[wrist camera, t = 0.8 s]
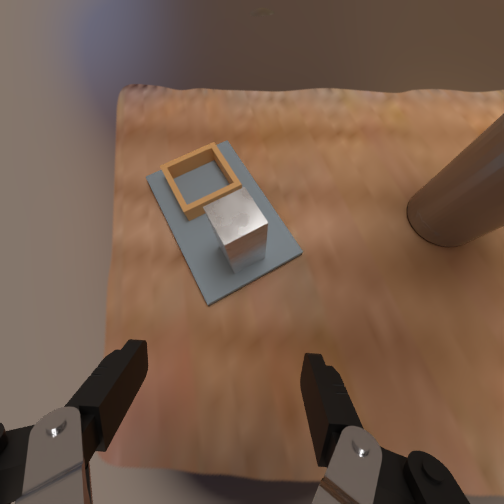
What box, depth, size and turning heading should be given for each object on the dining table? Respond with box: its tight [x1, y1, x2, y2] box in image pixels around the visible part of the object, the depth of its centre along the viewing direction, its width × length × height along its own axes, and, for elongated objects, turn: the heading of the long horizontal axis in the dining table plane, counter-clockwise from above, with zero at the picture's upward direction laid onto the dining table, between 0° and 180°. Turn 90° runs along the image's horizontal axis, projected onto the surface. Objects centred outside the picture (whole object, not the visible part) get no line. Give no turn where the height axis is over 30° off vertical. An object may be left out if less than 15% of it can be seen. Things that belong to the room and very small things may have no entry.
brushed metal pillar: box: [203, 187, 268, 274], centre depth 26 cm, size 4×4×10 cm
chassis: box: [146, 141, 303, 306], centre depth 33 cm, size 14×22×4 cm, turn 29°
